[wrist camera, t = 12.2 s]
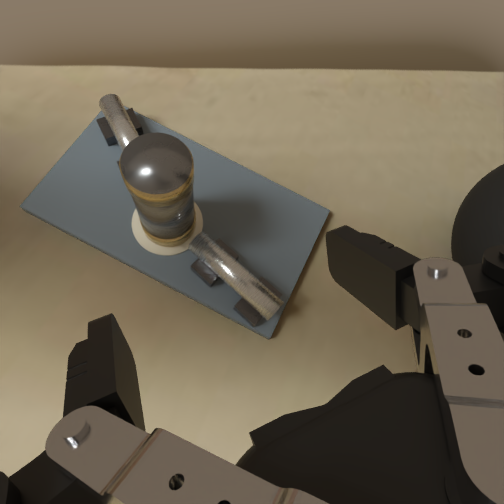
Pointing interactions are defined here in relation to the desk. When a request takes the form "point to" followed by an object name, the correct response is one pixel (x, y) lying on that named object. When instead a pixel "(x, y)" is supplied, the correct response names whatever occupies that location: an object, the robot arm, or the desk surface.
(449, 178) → the desk surface
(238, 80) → the desk surface
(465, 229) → the vase
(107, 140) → the shaft
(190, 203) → the banded tin drum
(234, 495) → the robot arm
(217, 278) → the shaft
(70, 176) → the board
